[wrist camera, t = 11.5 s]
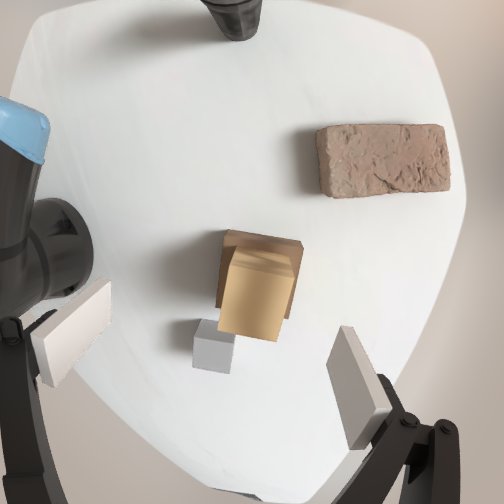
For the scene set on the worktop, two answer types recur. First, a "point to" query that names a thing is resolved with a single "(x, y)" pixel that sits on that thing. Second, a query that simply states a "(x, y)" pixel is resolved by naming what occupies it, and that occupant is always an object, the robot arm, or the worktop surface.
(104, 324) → the robot arm
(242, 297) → the oak block
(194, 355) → the grey block
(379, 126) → the brick
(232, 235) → the walnut block
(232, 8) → the beverage cup
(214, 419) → the worktop surface
